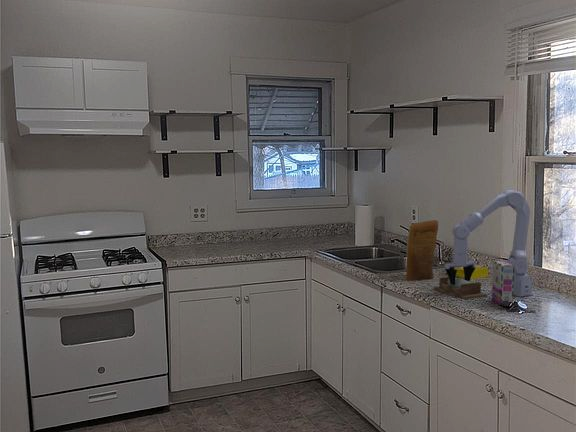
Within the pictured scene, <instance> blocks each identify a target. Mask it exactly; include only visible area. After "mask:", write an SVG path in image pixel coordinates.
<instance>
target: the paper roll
mask: <svg viewBox="0 0 576 432" xmlns="http://www.w3.org/2000/svg"><path fill="white" fill-rule="evenodd" d="M468 283H472V281H470V282H469V281H466V280H464V278H460V277H459V278H456V277H455V285H451V284H450V280H449V279H448V282H447V284H448V285H449V286H453V287H456V288H459V289H461V284H468Z"/></svg>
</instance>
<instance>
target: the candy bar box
mask: <svg viewBox="0 0 576 432" xmlns="http://www.w3.org/2000/svg"><path fill="white" fill-rule="evenodd" d="M492 262H493V264H492V285H491V286H492V287H491V288H492V289H491V301H493V302H494V303H495V304H497V305H498V306H500V305H501V303H502V301H508V302H513V301H514V295H513V283H514V265H512V264H510V263H508V262H507V261H506V260H493V261H492ZM513 303H514V302H513Z"/></svg>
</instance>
